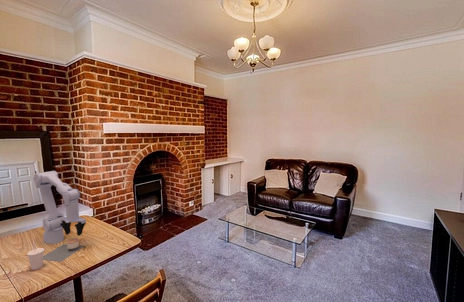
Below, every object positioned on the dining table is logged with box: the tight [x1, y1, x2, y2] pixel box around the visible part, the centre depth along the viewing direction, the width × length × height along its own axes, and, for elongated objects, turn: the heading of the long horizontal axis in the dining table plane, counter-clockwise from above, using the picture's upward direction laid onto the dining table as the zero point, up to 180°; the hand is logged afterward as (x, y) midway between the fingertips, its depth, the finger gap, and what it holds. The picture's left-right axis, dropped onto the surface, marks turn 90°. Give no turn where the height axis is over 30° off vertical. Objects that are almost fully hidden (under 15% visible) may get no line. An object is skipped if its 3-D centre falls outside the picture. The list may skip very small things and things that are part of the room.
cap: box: [66, 237, 80, 249], centre depth 122 cm, size 5×5×4 cm
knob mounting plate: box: [43, 244, 85, 263], centre depth 119 cm, size 14×15×6 cm
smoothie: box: [26, 242, 46, 271], centre depth 106 cm, size 6×6×14 cm
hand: (73, 234), depth 123 cm, fingers open, 7 cm apart
